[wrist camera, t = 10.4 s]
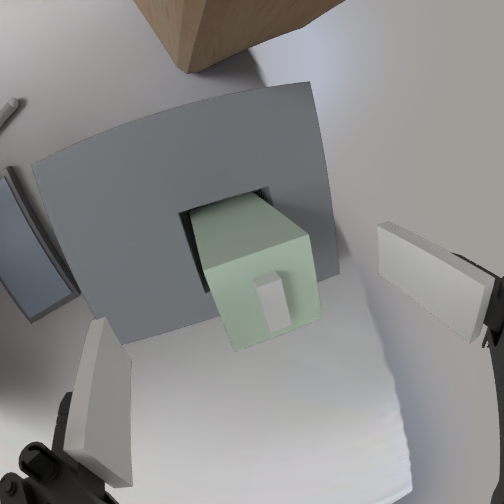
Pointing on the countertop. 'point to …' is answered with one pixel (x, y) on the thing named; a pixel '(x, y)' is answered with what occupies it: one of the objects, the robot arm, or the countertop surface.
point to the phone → (29, 256)
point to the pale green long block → (256, 268)
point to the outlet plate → (181, 200)
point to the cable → (8, 110)
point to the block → (224, 25)
